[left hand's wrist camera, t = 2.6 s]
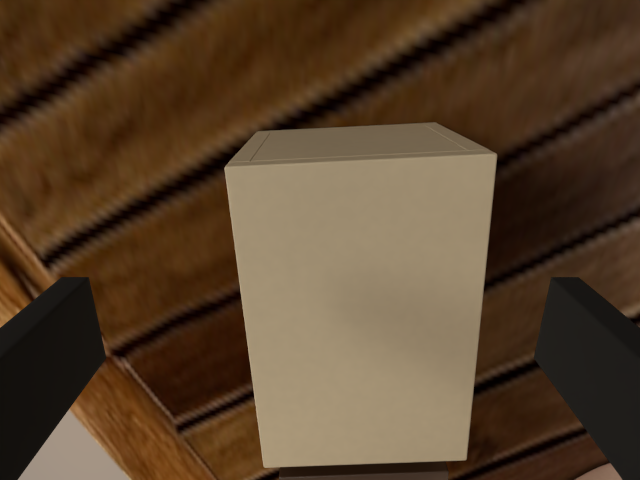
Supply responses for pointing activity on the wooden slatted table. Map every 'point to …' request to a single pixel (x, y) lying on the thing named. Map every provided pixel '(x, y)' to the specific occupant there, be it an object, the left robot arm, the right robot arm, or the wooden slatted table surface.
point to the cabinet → (362, 289)
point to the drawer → (368, 471)
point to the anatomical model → (601, 474)
